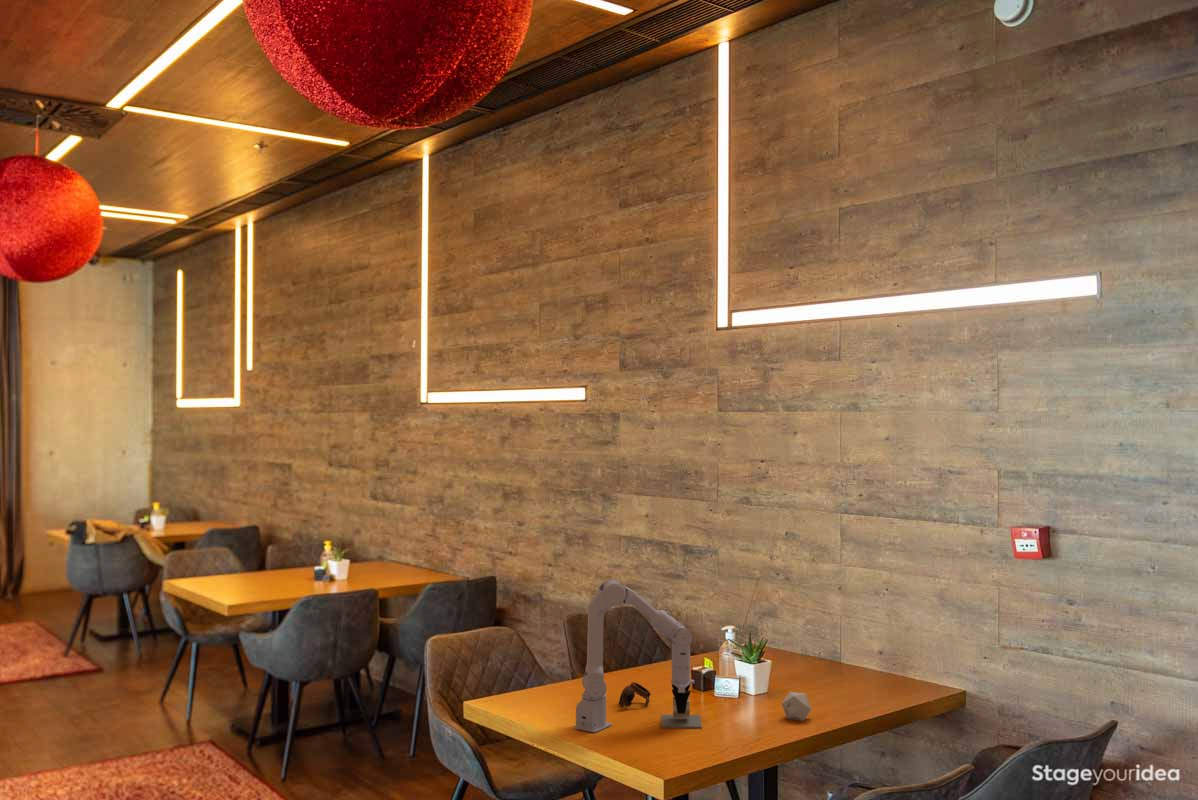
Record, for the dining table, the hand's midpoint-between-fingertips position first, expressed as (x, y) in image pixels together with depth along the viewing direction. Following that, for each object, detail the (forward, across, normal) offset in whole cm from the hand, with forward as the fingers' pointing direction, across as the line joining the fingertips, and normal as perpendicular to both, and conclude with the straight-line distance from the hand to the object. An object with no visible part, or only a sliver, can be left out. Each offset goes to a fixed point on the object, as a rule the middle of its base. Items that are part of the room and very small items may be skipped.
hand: (681, 710), depth 303 cm
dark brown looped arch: (+4, +17, +15) cm, 24 cm away
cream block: (+2, 0, 0) cm, 2 cm away
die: (+4, +6, -36) cm, 36 cm away
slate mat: (+4, 0, 0) cm, 4 cm away
